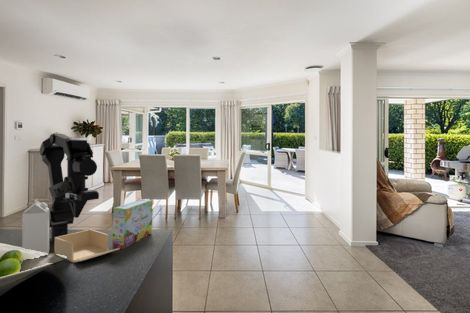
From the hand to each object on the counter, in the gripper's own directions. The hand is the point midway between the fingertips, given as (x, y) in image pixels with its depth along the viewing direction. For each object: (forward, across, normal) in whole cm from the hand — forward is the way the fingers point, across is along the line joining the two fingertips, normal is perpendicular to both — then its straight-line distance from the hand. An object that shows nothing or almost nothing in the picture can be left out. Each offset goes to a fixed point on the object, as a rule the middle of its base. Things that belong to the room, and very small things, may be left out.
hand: (76, 217), depth 108 cm
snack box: (+12, +6, +20) cm, 24 cm away
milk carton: (+12, -7, -10) cm, 17 cm away
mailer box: (+12, +4, 0) cm, 13 cm away
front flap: (+12, +10, 0) cm, 16 cm away
